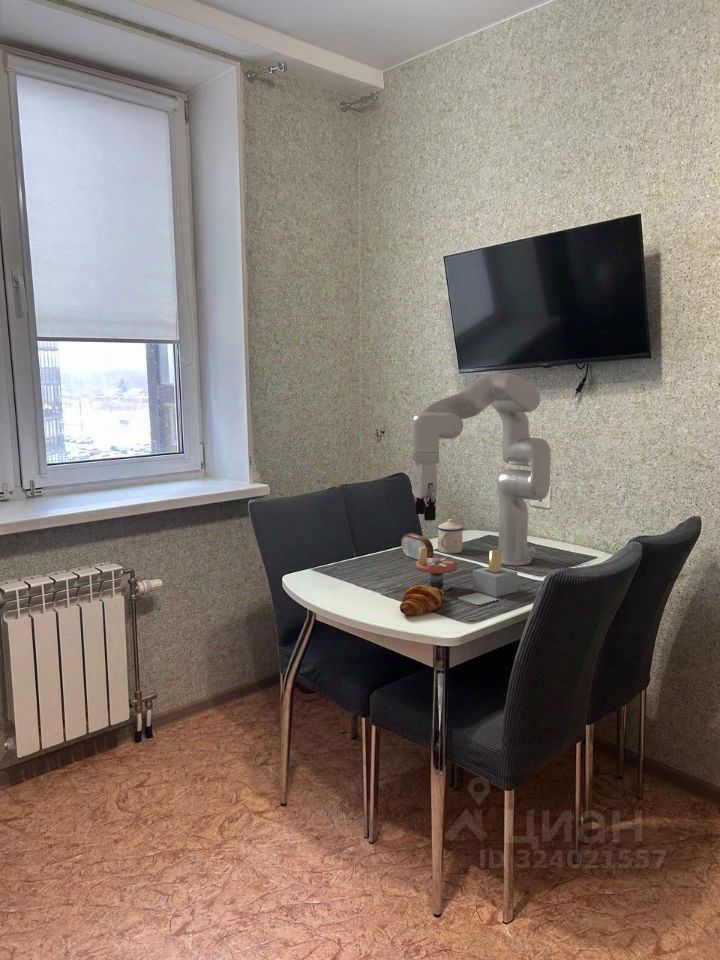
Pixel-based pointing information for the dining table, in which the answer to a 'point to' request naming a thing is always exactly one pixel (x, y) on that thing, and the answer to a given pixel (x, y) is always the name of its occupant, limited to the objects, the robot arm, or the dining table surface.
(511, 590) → the eye block
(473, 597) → the sage mat
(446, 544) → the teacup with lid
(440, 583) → the wheel post
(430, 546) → the tin
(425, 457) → the robot arm
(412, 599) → the croissant
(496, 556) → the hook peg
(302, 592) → the dining table surface
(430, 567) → the handwheel
